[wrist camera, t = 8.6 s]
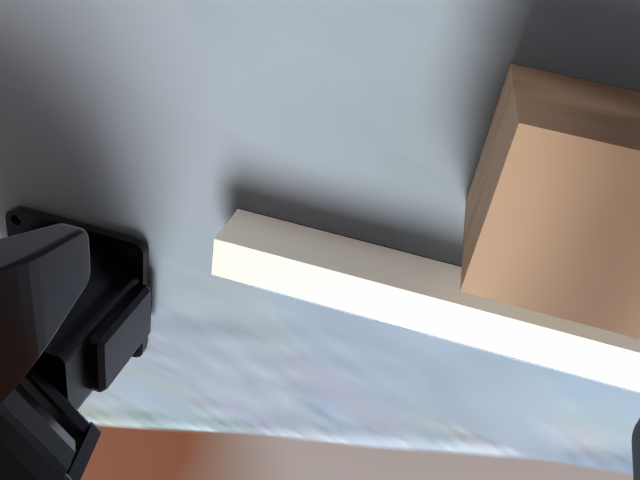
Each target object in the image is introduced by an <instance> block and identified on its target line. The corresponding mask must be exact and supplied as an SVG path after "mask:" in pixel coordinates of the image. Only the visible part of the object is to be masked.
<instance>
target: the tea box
mask: <svg viewBox="0 0 640 480" xmlns="http://www.w3.org/2000/svg"><path fill="white" fill-rule="evenodd" d="M460 291H461V292H464V293H468V294H472V295H476V296H479V297H483V298H487V299H491V300H494V301H498V302H502V303H506V304H509V305H513V306H517V307H521V308H524V309H528V310H532V311H536V312H539V313H543V314H547V315H551V316H554V317H558V318H562V319H566V320H569V321H573V322H577V323H581V324H584V325H588V326H592V327H596V328H599V329H603V330H607V331H611V332H614V333H618V334H622V335H626V336H629V337H633V338H637V339H640V92H638V91H634V90H629V89H625V88H620V87H615V86H611V85H606V84H602V83H597V82H593V81H588V80H584V79H579V78H574V77H570V76H565V75H561V74H556V73H552V72H547V71H543V70H538V69H534V68H529V67H524V66H520V65H515V64H511V63H510V66H509V69H508V72H507V75H506V79H505V82H504V85H503V88H502V91H501V94H500V97H499V100H498V103H497V106H496V109H495V112H494V116H493V119H492V122H491V125H490V128H489V131H488V134H487V137H486V140H485V143H484V146H483V150H482V153H481V156H480V159H479V162H478V165H477V168H476V171H475V174H474V177H473V180H472V184H471V187H470V190H469V193H468V196H467V199H466V208H465V223H464V239H463V254H462V269H461V285H460Z"/></svg>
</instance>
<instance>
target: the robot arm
mask: <svg viewBox="0 0 640 480" xmlns="http://www.w3.org/2000/svg"><path fill="white" fill-rule="evenodd" d="M17 216H18V217H19V218H20V220H19V219H18V217H17ZM6 224H7V232H8V237H6V238H2V239H0V480H80V479H81V477H82V474H83V472H84V470H85V468H86V466H87V463H88V461H89V459H90V457H91V454H92V452H93V450H94V448H95V445H96V443H97V441H98V439H99V436H100V434H101V431H99V429H98V428H97V427H96V426H95V425H94V424H93V423H92V422H90V423H89V422H88V421H87V420H86V419H85V418H84V417H83V416H82V415H81V414H80V412H79V411H78V409H79V407H80V406H81V405H82V404H83V402H84V401H85V400H86V399H87V397H88V396H89V395H90V393H91V392H92V391H93V390H94V391H97V392H102V391H104V390H106V389H107V388H108V387H109V386H110V384H111V383H112V382H113V380H114V379H115V378H116V376H117V375H118V374H119V373H120V371H121V370H122V369H123V367H124V366H125V365H126V363H127V362H128V361H129V359H130V358H131V357H140V356H141V355H142V354H143V352H144V351H145V350H146V347H147V336H148V335H149V333H150V325H151V290H150V288H149V286H148V285H147V276H148V249H147V246H146V244H145V243H144V242H143V241H142V240H140V239H138V238H135V237H131V236H128V235H124V234H120V233H117V232H113V231H109V230H106V229H102V228H98V227H95V226H91V225H87V224H84V223H80V222H76V221H73V220H69V219H65V218H61V217H58V216H54V215H50V214H47V213H43V212H39V211H36V210H32V209H28V208H25V207H21V206H16V207H13V208H12V209H10V210H9V211H8V212H7V213H6ZM132 247H133V248H135V249H136V250H137V252H138V253H136V252H134V251H133V249H132ZM632 459H633V479H634V480H640V419H639V420H638V422H637V423H636V425H635V427H634V430H633V434H632Z"/></svg>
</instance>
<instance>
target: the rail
mask: <svg viewBox="0 0 640 480" xmlns="http://www.w3.org/2000/svg"><path fill="white" fill-rule="evenodd" d="M461 269H462V267H459V266H455V265H452V264H448V263H444V262H440V261H436V260H432V259H429V258H425V257H421V256H417V255H413V254H409V253H406V252H402V251H398V250H394V249H390V248H386V247H383V246H379V245H375V244H371V243H367V242H363V241H359V240H356V239H352V238H348V237H344V236H340V235H336V234H333V233H329V232H325V231H321V230H317V229H313V228H310V227H306V226H302V225H298V224H294V223H290V222H287V221H283V220H279V219H275V218H271V217H267V216H264V215H260V214H256V213H252V212H248V211H244V210H241V209H237V211H236V212H235V213H234V214H233V216H232V217H231V218H230V220H229V221H228V222H227V223H226V225H225V226H224V227H223V228H222V230H221V231H220V232H219V234H218V235H217V236H216V237H215V239H214V249H213V262H212V275H216V276H219V277H223V278H227V279H230V280H234V281H237V282H241V283H245V284H248V285H251V287H254V288H257V289H261V290H265V291H268V292H272V293H275V294H279V295H283V296H286V297H290V298H294V299H297V300H301V301H304V302H308V303H312V304H315V305H319V306H323V307H326V308H330V309H333V310H337V311H341V312H344V313H348V314H352V315H355V316H359V317H362V318H366V319H370V320H373V321H377V322H378V320H379V321H383V322H386V323H390V324H394V325H397V326H401V327H404V328H408V329H412V330H415V331H417V333H421V334H424V335H428V336H431V337H435V338H439V339H442V340H446V341H450V342H453V343H457V344H460V345H464V346H468V347H471V348H475V349H479V350H482V351H486V352H489V353H493V354H497V355H500V356H504V357H508V358H511V359H515V360H518V361H522V362H526V363H529V364H533V365H537V366H540V367H544V368H547V369H551V370H555V371H558V372H562V373H566V374H569V375H573V376H576V377H580V378H584V379H587V380H591V381H595V382H598V383H602V384H605V385H609V386H613V387H616V388H620V389H624V390H627V391H631V392H634V393H639V392H640V339H637V338H633V337H629V336H626V335H622V334H618V333H614V332H611V331H607V330H603V329H599V328H596V327H592V326H588V325H584V324H581V323H577V322H573V321H569V320H566V319H562V318H558V317H554V316H551V315H547V314H543V313H539V312H536V311H532V310H528V309H524V308H521V307H517V306H513V305H509V304H506V303H502V302H498V301H494V300H491V299H487V298H483V297H479V296H476V295H472V294H468V293H464V292H461V291H460V285H461Z"/></svg>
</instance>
